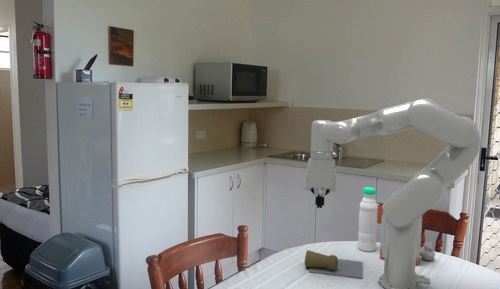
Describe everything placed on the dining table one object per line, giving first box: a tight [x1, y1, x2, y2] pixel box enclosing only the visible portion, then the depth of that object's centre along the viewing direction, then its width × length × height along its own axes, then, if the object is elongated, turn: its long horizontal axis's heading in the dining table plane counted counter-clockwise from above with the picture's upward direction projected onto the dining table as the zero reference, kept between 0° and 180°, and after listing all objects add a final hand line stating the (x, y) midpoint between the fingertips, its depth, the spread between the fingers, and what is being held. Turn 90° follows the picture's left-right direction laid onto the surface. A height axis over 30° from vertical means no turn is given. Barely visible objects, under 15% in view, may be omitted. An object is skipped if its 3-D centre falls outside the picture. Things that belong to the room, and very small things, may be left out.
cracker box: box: [379, 202, 423, 266], centre depth 159 cm, size 14×6×21 cm, turn 64°
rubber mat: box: [308, 258, 364, 280], centre depth 153 cm, size 18×14×1 cm
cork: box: [304, 249, 339, 270], centre depth 151 cm, size 6×6×11 cm
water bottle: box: [357, 186, 379, 252], centre depth 169 cm, size 7×7×25 cm
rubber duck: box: [420, 240, 436, 261], centre depth 161 cm, size 5×7×8 cm
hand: (319, 207), depth 150 cm, fingers closed
